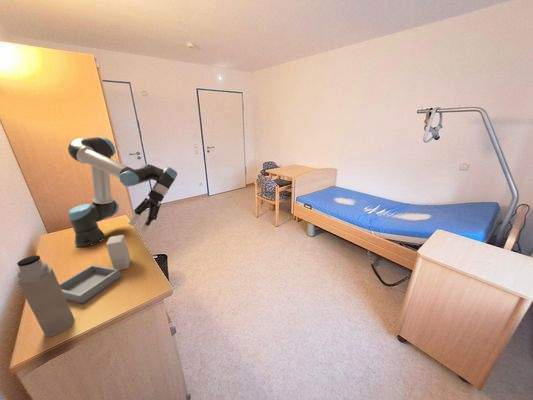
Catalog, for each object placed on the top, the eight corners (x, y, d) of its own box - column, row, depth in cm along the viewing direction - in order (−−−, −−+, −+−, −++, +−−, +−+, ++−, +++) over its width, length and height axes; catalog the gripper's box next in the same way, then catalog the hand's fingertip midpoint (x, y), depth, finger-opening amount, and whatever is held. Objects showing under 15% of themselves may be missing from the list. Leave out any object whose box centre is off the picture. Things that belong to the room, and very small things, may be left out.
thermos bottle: (37, 336, 72) (0, 267, 63) (60, 317, 80) (29, 252, 71) (60, 336, 72) (26, 266, 63) (80, 316, 79) (52, 251, 71)
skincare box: (117, 263, 112) (109, 236, 107) (132, 259, 114) (124, 233, 109) (114, 272, 105) (104, 244, 100) (129, 268, 107) (121, 240, 102)
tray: (95, 272, 105) (92, 264, 104) (121, 277, 101) (119, 269, 99) (54, 297, 90) (51, 288, 89) (83, 304, 85) (79, 296, 84)
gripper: (175, 199, 114) (154, 236, 107) (152, 193, 128) (132, 225, 122) (164, 192, 108) (140, 230, 102) (141, 186, 122) (119, 220, 116)
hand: (136, 227), depth 112 cm, fingers open, 13 cm apart
